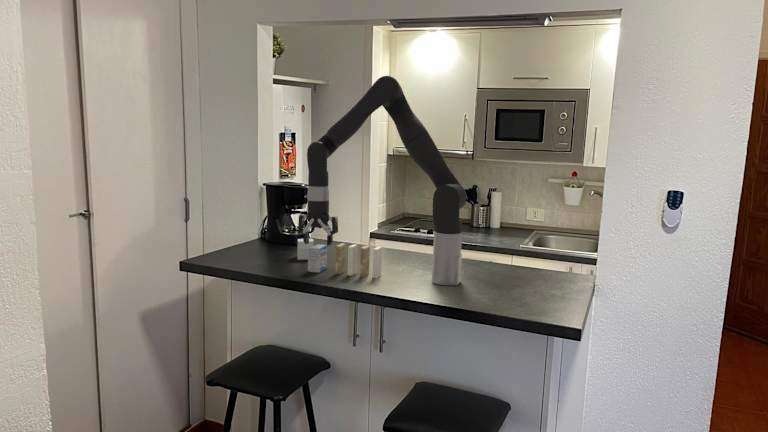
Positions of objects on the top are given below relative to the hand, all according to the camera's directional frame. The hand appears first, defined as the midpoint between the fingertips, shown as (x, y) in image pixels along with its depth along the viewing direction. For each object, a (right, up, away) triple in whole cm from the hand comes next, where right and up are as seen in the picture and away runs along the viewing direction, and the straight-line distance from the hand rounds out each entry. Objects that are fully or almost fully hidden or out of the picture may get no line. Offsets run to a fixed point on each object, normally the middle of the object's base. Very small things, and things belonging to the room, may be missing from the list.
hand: (317, 244), depth 207 cm
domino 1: (+8, -10, -1) cm, 13 cm away
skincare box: (-7, -7, +20) cm, 22 cm away
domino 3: (+17, -11, -4) cm, 20 cm away
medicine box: (0, -9, +2) cm, 10 cm away
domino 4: (+21, -11, -5) cm, 24 cm away
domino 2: (+12, -10, -2) cm, 16 cm away
